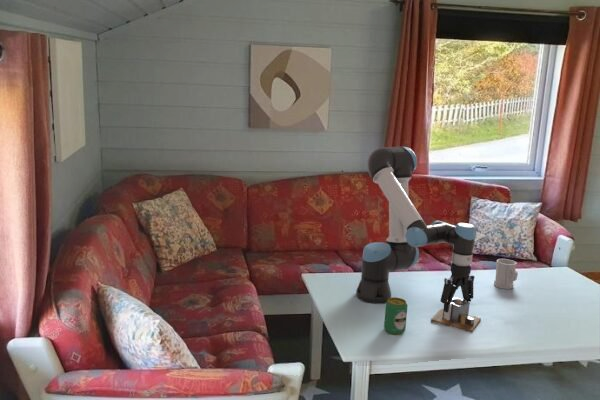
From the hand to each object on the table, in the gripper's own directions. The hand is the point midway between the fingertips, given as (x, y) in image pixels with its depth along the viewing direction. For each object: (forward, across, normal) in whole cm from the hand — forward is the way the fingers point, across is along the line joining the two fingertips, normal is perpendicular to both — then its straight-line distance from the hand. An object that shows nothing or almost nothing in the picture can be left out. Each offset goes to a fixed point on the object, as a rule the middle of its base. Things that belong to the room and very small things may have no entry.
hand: (454, 317), depth 218 cm
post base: (+1, 0, -1) cm, 2 cm away
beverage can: (+2, -28, +2) cm, 28 cm away
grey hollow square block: (0, 0, -2) cm, 2 cm away
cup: (+2, +50, +19) cm, 53 cm away
